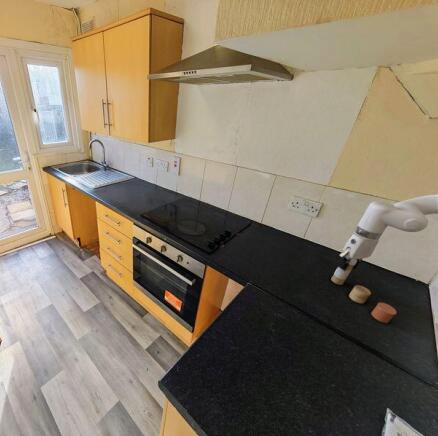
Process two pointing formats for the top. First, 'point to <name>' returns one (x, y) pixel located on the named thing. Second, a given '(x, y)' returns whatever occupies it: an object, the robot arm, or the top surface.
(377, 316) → the orange-brown short cylinder
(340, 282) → the sprinkles bottle
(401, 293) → the top surface
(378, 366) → the top surface
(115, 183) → the top surface
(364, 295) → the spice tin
